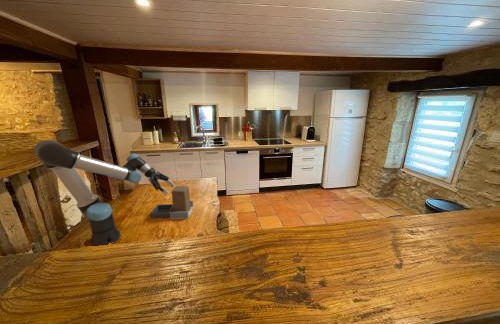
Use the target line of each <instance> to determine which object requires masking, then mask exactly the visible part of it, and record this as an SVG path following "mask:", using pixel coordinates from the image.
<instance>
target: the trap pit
mask: <svg viewBox="0 0 500 324" xmlns="http://www.w3.org/2000/svg"><path fill="white" fill-rule="evenodd" d="M170 212H174V208H173V203H166V204H165V203H163V204H157V205H156V206H155V207H154V208H153V209H152V211H150V218H151V219H169V218H170Z"/></svg>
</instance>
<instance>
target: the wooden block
mask: <svg viewBox="0 0 500 324" xmlns="http://www.w3.org/2000/svg"><path fill="white" fill-rule="evenodd" d="M189 189H190V188H189V186H187V185H186V186H185V185H176V186H174V187H173V189H172V190H171V198H172V199H171V200H172V204H173V208H174V211H173V212H182V211H188V212H189V211H190V209H191V206H190V201H191V199H190V198H191V197H190V190H189Z"/></svg>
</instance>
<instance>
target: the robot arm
mask: <svg viewBox="0 0 500 324" xmlns="http://www.w3.org/2000/svg"><path fill="white" fill-rule="evenodd" d="M33 152H34V153H33V154H34V155H35V156H36V157H37V159H39V160H40V162H41V163H42V165H43V166H44V167H45V168H46V169H47V170H51V171H53V173H54V174H55V175H56V176H57V178H58V179H59V180H60V182H61V183H62V184H63V186H64V187H65V188H66V190H67V191H68V192H69V193H70V194H71V196H72V197H73V199H75V201H76V205H75V206H76V207H77V209H78V210H79V211H80V213H81V214H82V215H83V216H84V218H85V219H86V220H87V221H88V223H89V226H90V230H91V237H90V244H91V247H92V246H99V245H108V244H109V243H112V242H115V241H117V240H118V239H119V238H120V239H121V237H122V236H121V232H120V230H119V229H118V228H117V226H116V224H115V220H114V216H113V215H114V214H113V210H112V207H111V205H110V204H109V203H108V202H103V201H102V199H101V198H100V197H99V196H98V194H94V193H93V191H92V190H91V189H90V187H89V186H88V185H87V183H86V182H85V181H84V180H83V178H82V176H81V175H80V174H79V172H78V171H77V170H82V171H86V172H89V173H95V174H99V175H103V176H107V177H112V178H116V179H119V180H121V181H123V182H124V181H127V182H130V183H131V184H137V183H139V182H141V180H142V177H143V176H142V175H144V176H145V177H146V178H148V181H149V182H150V183H151V185H152V187H153V188H154V189H155V190H156V191H158V190H159V191H160V192H161V193H163V194H164V195H165V196H166V195H168V194H169V193H170V192H169V191H168V190H167V189H166V188H164V187H163V186H162V185H160V182H159V180H160V181H164V182H165V183H166V184H167V185H169V186H170V187H171V188H174V187H175V184H174V182H172V181H171V180H170V178H169V176H167V175H165V174H163V173H161V172H159V171H158V170H157V171H156V169H155V168H153V167H152V166H151V165H150V164H149V163H148V162H146V161H145V160H144V159H143V158H142V157H141V156H140V155H138V154H137V153H131V154H130V155H129V156H128V157H126V159H125V160H126V163H125V164H124V165H123V166H121V165H118V164H113V163H110V162H108V161H103V160H100V159H98V158H93V157H91V156H86V155H83V154H80V152H78V151H76V150H73V149H70V148H69V147H66V146H64V145H63V144H62V143H60V142H59V141H57V140H53V139H46V140H45V139H44V140H41V141H40V142H38V143H37V144H36V145H35V147H34V149H33ZM120 239H119V240H120ZM119 240H118V241H119ZM118 241H117V242H118ZM115 243H116V242H115ZM115 243H112V245H113V244H115Z"/></svg>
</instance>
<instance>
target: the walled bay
mask: <svg viewBox="0 0 500 324" xmlns="http://www.w3.org/2000/svg"><path fill="white" fill-rule="evenodd" d="M190 206H191V209H190V211H189V212H188V211H182V212H174V211H173V212H170V220H188V219H189V218H190V216H191V214H192V211H193V209H194V201H193V200H190Z"/></svg>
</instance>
